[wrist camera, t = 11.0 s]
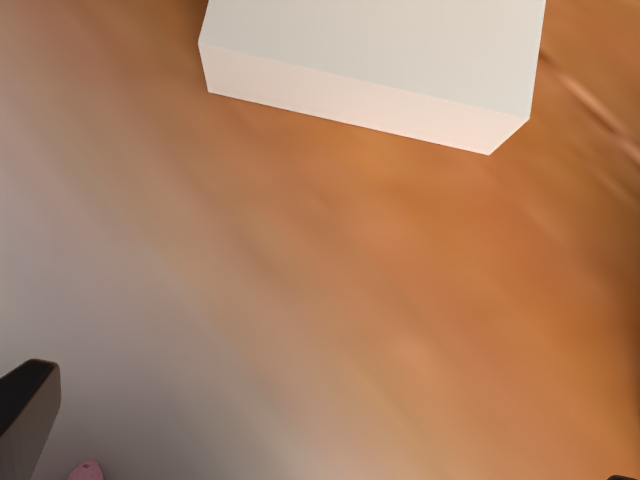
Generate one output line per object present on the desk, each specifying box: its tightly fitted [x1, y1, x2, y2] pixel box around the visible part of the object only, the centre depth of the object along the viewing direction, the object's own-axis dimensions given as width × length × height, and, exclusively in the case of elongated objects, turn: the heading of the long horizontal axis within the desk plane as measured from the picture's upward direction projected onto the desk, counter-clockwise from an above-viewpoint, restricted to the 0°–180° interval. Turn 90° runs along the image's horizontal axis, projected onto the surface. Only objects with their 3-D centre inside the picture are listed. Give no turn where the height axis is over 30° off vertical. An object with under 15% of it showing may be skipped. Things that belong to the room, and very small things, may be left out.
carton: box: [198, 0, 546, 155], centre depth 24 cm, size 9×12×4 cm
